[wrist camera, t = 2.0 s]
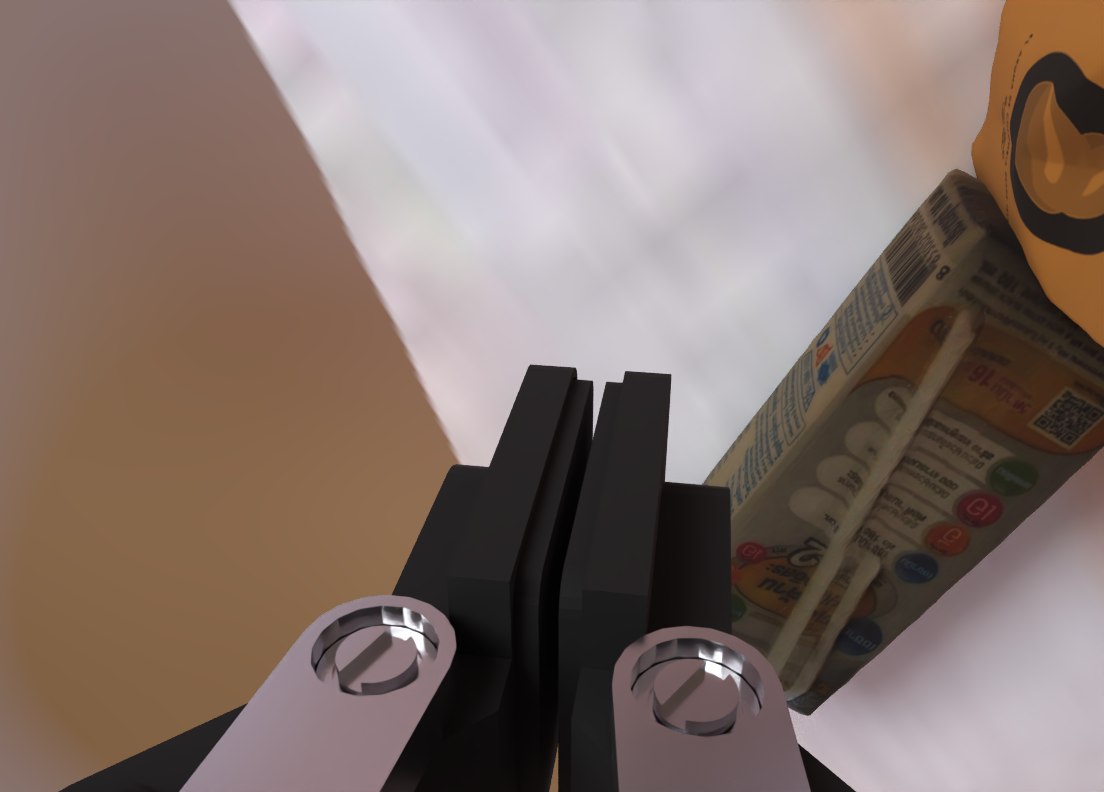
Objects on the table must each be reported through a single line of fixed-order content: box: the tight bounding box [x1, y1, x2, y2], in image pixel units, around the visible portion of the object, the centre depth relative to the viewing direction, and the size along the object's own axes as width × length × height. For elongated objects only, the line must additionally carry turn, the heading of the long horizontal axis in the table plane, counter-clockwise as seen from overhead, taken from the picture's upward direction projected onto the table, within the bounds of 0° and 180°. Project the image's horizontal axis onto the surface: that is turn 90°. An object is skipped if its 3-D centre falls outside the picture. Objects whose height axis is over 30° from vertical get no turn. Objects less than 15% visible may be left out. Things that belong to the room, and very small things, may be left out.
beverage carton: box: [702, 169, 1104, 716], centre depth 34 cm, size 8×19×7 cm, turn 152°
